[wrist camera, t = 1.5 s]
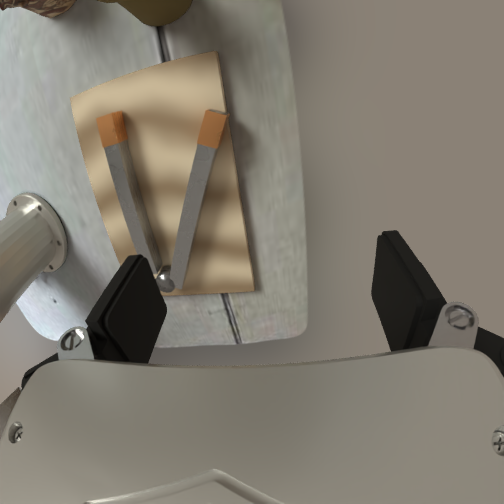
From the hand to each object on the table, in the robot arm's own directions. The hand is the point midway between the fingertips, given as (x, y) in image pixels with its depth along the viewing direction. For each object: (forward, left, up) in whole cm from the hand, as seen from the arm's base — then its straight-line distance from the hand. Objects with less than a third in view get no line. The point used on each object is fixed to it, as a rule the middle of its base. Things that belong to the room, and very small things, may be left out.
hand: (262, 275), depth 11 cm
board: (-10, +6, -18) cm, 22 cm away
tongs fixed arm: (-11, +8, -17) cm, 22 cm away
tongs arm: (-9, +3, -17) cm, 19 cm away
